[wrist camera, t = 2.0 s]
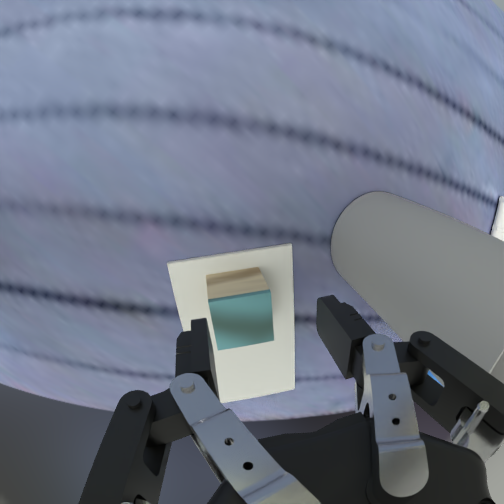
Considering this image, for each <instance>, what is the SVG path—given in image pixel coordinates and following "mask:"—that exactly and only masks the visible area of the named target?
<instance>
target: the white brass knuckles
mask: <svg viewBox="0 0 504 504" xmlns="http://www.w3.org/2000/svg"><path fill="white" fill-rule="evenodd" d="M491 235H492V236H494V237H496V238H498V239H500V240H502V241H504V197H503V196H500V198H499V204H498V208H497V212H496V216H495V220H494V224H493V227H492V231H491Z"/></svg>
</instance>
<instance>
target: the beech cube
mask: <svg viewBox="0 0 504 504" xmlns="http://www.w3.org/2000/svg"><path fill="white" fill-rule="evenodd" d="M206 284H207V295H208V304H209V309H210V314H211V319H212V324H213V329H214V334H215V339H216V344H217V349H218V350H225V349H231V348H237V347H243V346H248V345H254V344H259V343H265V342H270V341H274V329H273V314H272V299H271V291H270V289H269V287H268V285H267V283H266V281H265V279H264V277H263V275H262V273H261V271H260V269H259V267H254V268H247V269H241V270H235V271H228V272H222V273H215V274H209V275H206Z"/></svg>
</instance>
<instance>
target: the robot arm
mask: <svg viewBox="0 0 504 504" xmlns="http://www.w3.org/2000/svg"><path fill="white" fill-rule="evenodd" d="M316 325H317V331H318V334H319V336H320V338H321V339H322V341H323V343H324V344H325V346H326V348H327V349H328V351H329V353H330V354H331V356H332V358H333V359H334V361H335V363H336V364H337V366H338V368H339V369H340V371H341V373H342V374H343V376H344V378H345V379H349V378H352V377H354V378H355V380H356V381H355V406H356V413H355V414H352V415H349V416H346V417H343V418H341V419H337V420H336V421H334V422H332V423H330V424H329V425H327V426H325V427H323V428H322V429H320V430H318V431H316V432H312V433H294V434H282V435H277V436H272V437H268V438H263V439H258V441H257V440H256V439H255V437H254V436H253V435H252V434H251V433H250V432H249V430H248V429H247V428H246V427H245V426H244V424H243V423H242V422H241V421H240V419H239V418H238V417H237V416H236V415H235V413H234V412H233V411H232V410H231V409H229V408H228V409H225V407H224V406H223V405H222V404H221V402H220V398H219V391H218V383H217V375H216V367H215V359H214V352H213V346H212V341H211V337H210V332H209V327H208V322H207V318H200V319H193V320H191V331H184V332H181V333H180V335H179V337H178V338H177V346H176V347H177V348H176V372H175V378H174V379H173V380H172V382H171V383H170V388H168V389H167V390H165V391H164V392H161V393H158V394H156V395H153V396H150V395H149V394H148V393H146V392H144V391H140V390H135V391H131V392H128V393H126V394H125V395H123V396H122V397H121V399H120V400H119V402H118V405H117V407H116V409H115V412H114V414H113V417H112V419H111V422H110V423H109V426H108V428H107V431H106V433H105V436H104V438H103V440H102V443H101V445H100V448H99V450H98V453H97V455H96V458H95V460H94V463H93V466H92V469H91V471H90V474H89V476H88V479H87V482H86V484H85V487H84V490H83V493H82V496H81V498H80V501H79V504H158V500H159V496H160V491H161V487H162V482H163V478H164V474H165V469H166V465H167V461H168V456H169V452H170V448H171V444H172V441H175V440H178V439H181V438H183V437H186V436H188V435H191V437H192V439H193V440H194V442H195V444H196V445H197V447H198V448H199V450H200V451H201V453H202V454H203V456H204V458H205V459H206V461H207V462H208V464H209V466H210V467H211V469H212V471H213V472H214V474H215V475H216V477H217V478H218V480H219V481H220V483H221V484H220V486H219V487H218V489H217V490H216V492H215V493H214V495H213V496H212V497H211V499H210V500H209V502H208V503H207V504H495V503H494V501H493V500H492V499H491V496H490V493H489V490H488V486H487V475H486V468H485V464H484V463H485V462H486V461H487V460H488V459H489V458H490V457H491V456H492V455H493V454H494V453H495V452H496V451H497V450H498V449H499V448H500V446H501V445H502V444H503V443H504V384H503V383H502V382H501V381H499V380H498V379H496V378H495V377H494V376H492V375H491V374H489V373H488V372H487V371H485V370H484V369H483V368H481V367H480V366H478V365H477V364H475V363H474V362H473V361H471V360H470V359H468V358H467V357H466V356H464V355H463V354H461V353H460V352H458V351H457V350H456V349H454V348H453V347H451V346H450V345H448V344H447V343H445V342H444V341H442V340H441V339H440V338H438V337H437V336H435V335H434V334H432V333H430V332H427V331H417V332H414V333H413V334H412V335H411V336H410V340H409V341H407V342H393V341H392V340H391V339H390V338H389V337H387V336H385V335H382V334H376V333H375V332H374V331H373V330H372V329H371V327H370V326H369V325H368V324H367V323H366V322H365V320H364V319H362V317H361V316H360V315H359V314H358V312H357V311H356V310H355V309H354V308H353V307H352V306H350V305H348V304H346V303H345V302H344V303H340V302H339V301H338V300H337V299H336V297H335V296H334V295H330V296H325V297H320V298H318V300H317V322H316ZM429 369H430V370H431V371H432V372H433V373H435V374H436V375H437V376H439V377H440V378H441V379H442V380H443V382H444V387H443V386H442V385H441V384H439V383H438V382H437V381H436V380H434V379H433V378H432V377H431V376H429V375H428V371H429ZM413 401H414V402H416V403H417V404H418V405H419V406H420V407H421V408H422V409H423V410H424V411H426V412H427V413H428V414H429V415H430V416H431V417H432V418H433V419H435V420H436V421H437V422H438V423H439V424H440V425H441V426H442V427H444V428H445V429H446V430H447V431H448V432H449V433H450V434H451V439H452V443H450V442H447V441H444V440H441V439H439V438H436V437H433V436H430V435H427V434H424V433H422V432H419V431H418V425H417V419H416V414H415V409H414V404H413Z"/></svg>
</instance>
